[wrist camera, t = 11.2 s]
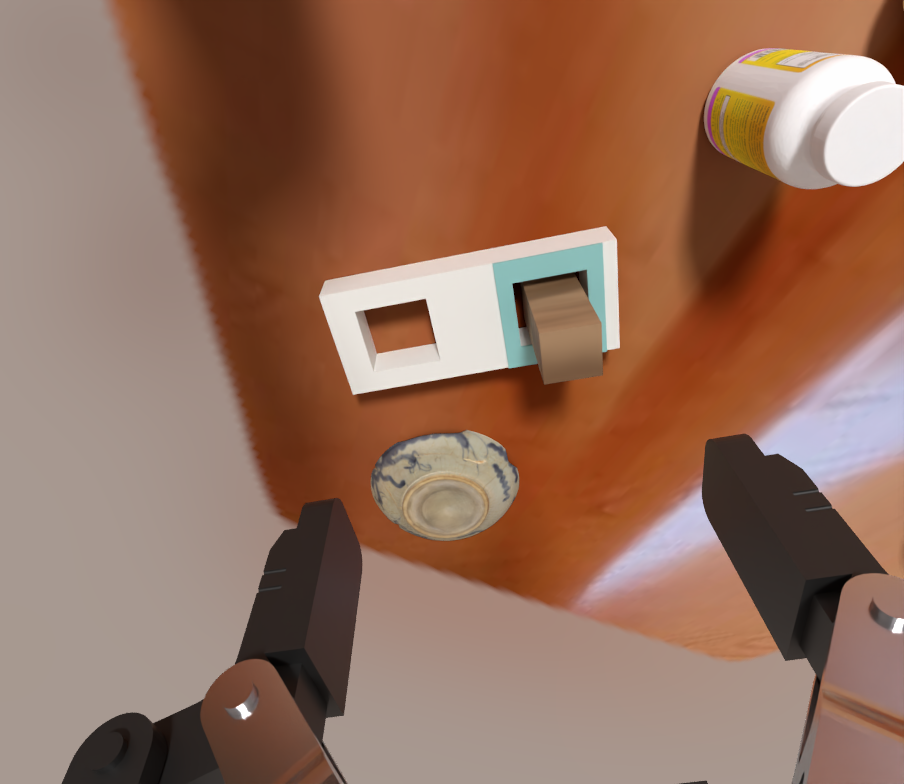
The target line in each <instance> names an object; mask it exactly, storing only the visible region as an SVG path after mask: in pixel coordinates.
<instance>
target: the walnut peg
mask: <svg viewBox="0 0 904 784" xmlns="http://www.w3.org/2000/svg"><path fill="white" fill-rule="evenodd" d="M520 284H521V293H522V301H523V310H524V319H525V322H526V326H527V329H528V332H529V336H530V339H531V342H532V346H533V349H534V352H535V356H536V359H537V362H538V366H539V369H540V372H541V376H542V379H543V382H544V385H545V384H551V383H557V382H564V381H570V380H576V379H582V378H589V377H595V376H601V375H603V357H602V323H601V321H600V319H599V317H598V316H597V314H596V312H595V310H594V308H593V306H592V305H591V303H590V301H589V299H588V297H587V295H586V294H585V292H584V290H583V288H582V286H581V284H580V283H579V281H578V279H577V277H576V275H575V273H574V272H571V273H566V274H560V275H555V276H550V277H544V278H539V279H534V280H528V281H523V282H520Z"/></svg>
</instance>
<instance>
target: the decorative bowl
mask: <svg viewBox="0 0 904 784" xmlns="http://www.w3.org/2000/svg"><path fill="white" fill-rule="evenodd" d="M375 466H376V467H375V468H374V469H373V471H372V475H371V490H372V494H373V497H374V500H375V502H376V503H377V505H378V506H379V508H380V509H381V511H382V512H383V513H384V514H385V515H386V516H387V517H388V519H389V520H391V521H392V522H393V523H396V524H399V527H400V528H401V529H403V530H405V531H407V532H409V533H411V534H414V535H416V536H419V537H423V538H426V539H431V540H439V541H451V540H458V539H463V538H467V537H470V536H473V535H475V534H478V533H480V532H482V531H484V530H486V529H487V528H489V527H490V526H492V525H493V524H494V523H496V522H497V521H498V520H499V519H500V518H501V517H502V516H503V515H504V514H505V512H506V511H507V510H508V509H509V507H510V506H511V504H512V503H513V501H514V499H515V497H516V495H517V492H518V487H519V473H518V470H517V467H515V466H513V465H512V464H511V463H510V462H509V461H508V458H507V453H506V449H505V448H504V447H503V446H502V445H500V444H499V443H498V442H496V441H495V440H493V439H491V438H489V437H487V436H485V435H482V434H479V433H476V432H473V431H469V430H465V431H463V432H461V433H443V434H441V433H439V434H430V435H423V436H419V437H416V438H412V439H409V440H406V441H402V442H398V443H396V444H394V445H393V446H392V447H390V448H389V449H388V450H387V451H386V452H385V453H384V454H383V455H382V456H381V457H380V458H379V460H378V461H377V463H376V464H375Z"/></svg>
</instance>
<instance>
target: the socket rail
mask: <svg viewBox="0 0 904 784" xmlns="http://www.w3.org/2000/svg"><path fill="white" fill-rule="evenodd" d="M576 271H579V280H580V284H581V286H582V288H583V290H584V292H585V294H586V295H587V297H588V299H589V301H590V303H591V305H592V306H593V308H594V310H595V312H596V314H597V316H598V317H599V319H600V321H601V323H602V352H607V350H610V349H616V348H620V341H619V305H618V268H617V239H616V238H615V237H614V236H613V234H612V233H611V232H610V231H609V229H608V228H607V227H606V226H605V227H600V228H595V229H590V230H584V231H579V232H574V233H569V234H564V235H559V236H553V237H548V238H543V239H538V240H533V241H527V242H522V243H517V244H512V245H507V246H502V247H496V248H491V249H486V250H481V251H476V252H471V253H465V254H460V255H455V256H450V257H445V258H440V259H434V260H429V261H424V262H419V263H414V264H409V265H403V266H398V267H393V268H388V269H383V270H378V271H372V272H367V273H362V274H357V275H352V276H347V277H341V278H336V279H331V280H326V281H325V282H324V285H323V287H322V290H321V292H320V295H319V298H320V301H321V304H322V307H323V310H324V313H325V315H326V318H327V321H328V324H329V327H330V330H331V333H332V336H333V338H334V341H335V344H336V347H337V350H338V353H339V356H340V358H341V361H342V364H343V367H344V370H345V373H346V376H347V379H348V381H349V384H350V387H351V390H352V393H353V395H354V394H360V393H366V392H371V391H377V390H383V389H389V388H394V387H400V386H406V385H411V384H417V383H423V382H428V381H434V380H440V379H445V378H451V377H457V376H462V375H468V374H474V373H480V372H485V371H491V370H497V369H502V368H508V367H509V369H510V368H516V367H521V366H527V365H533V364H538V362H537V359H536V356H535V352H534V349H533V346H532V342H531V339H530V336H529V332H528V329H527V327H523V328H518V321H517V314H516V307H515V300H514V292H513V285H512V283H518V282H523V281H528V280H534V279H539V278H544V277H550V276H555V275H560V274H566V273H571V272H576ZM421 299H426V301H427V305H428V309H429V314H430V318H431V322H432V327H433V331H434V335H435V339H436V343H435V344H429V345H424V346H418V347H413V348H407V349H401V350H396V351H390V352H385V353H379V354H377V352H376V349H375V346H374V343H373V339H372V336H371V333H370V330H369V326H368V323H367V320H366V316H365V313H364V310H368V309H373V308H379V307H384V306H389V305H395V304H400V303H405V302H411V301H416V300H421Z"/></svg>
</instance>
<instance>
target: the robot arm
mask: <svg viewBox="0 0 904 784" xmlns="http://www.w3.org/2000/svg"><path fill="white" fill-rule="evenodd" d="M702 499H703V504H704V508H705V512H706V514H707V517H708V519H709V521H710V523H711V525H712V527H713V529H714V530H715V532H716V534H717V536H718V538H719V540H720V541H721V543H722V545H723V547H724V549H725V551H726V552H727V554H728V556H729V558H730V560H731V562H732V563H733V565H734V567H735V569H736V571H737V573H738V574H739V576H740V578H741V580H742V582H743V584H744V585H745V587H746V589H747V591H748V593H749V595H750V597H751V598H752V600H753V602H754V604H755V606H756V608H757V609H758V611H759V613H760V615H761V617H762V619H763V620H764V622H765V624H766V626H767V628H768V630H769V631H770V633H771V635H772V637H773V639H774V641H775V642H776V644H777V646H778V648H779V650H780V652H781V653H782V655H783V657H784V659H785V661H787V660H795V659H803V658H807V659H808V661H809V663H810V665H811V666H812V668H813V670H814V671H815V673H816V675H815V678H814V682H813V687H812V691H811V696H810V701H809V706H808V710H807V715H806V720H805V725H804V729H803V734H802V739H801V743H800V749H799V753H798V758H797V763H796V767H795V772H794V776H793V780H792V784H904V579H901V578H898V577H895V576H891V575H889V574H888V573H887V572H886V571H885V570H884V569H883V568H882V567H881V565H880V564H879V563H878V562H877V560H876V559H875V558H874V557H873V556H872V554H871V553H870V552H869V551H868V549H867V548H866V547H865V546H864V544H863V543H862V542H861V541H860V539H859V538H858V537H857V536H856V535H855V533H854V532H853V531H852V530H851V528H850V527H849V526H848V525H847V523H846V522H845V521H844V520H843V518H842V517H841V516H840V515H839V514H838V512H837V511H836V510H835V509H832V507H831V504H830V502H829V501H828V500H827V499H826V497H825V496H824V495H823V494H822V493H819V491H818V488H817V486H816V485H815V484H814V483H813V481H812V480H811V479H810V478H809V477H808V475H807V474H806V473H805V472H804V470H803V469H802V468H800V467H798V466H797V465H795V464H794V463H792V462H791V461H789V460H787V459H786V458H784V457H783V456H781V455H779V454H774V455H767V456H764V454H763V453H762V452H761V450H760V449H759V448H758V446H757V445H756V444H755V442H754V441H753V440H752V438H751V437H750V436H749V435H747V434H739V435H733V436H727V437H721V438H715V439H709V440H708V441H707V442H706V446H705V457H704V470H703V482H702ZM361 575H362V554H361V549H360V545H359V542H358V539H357V537H356V534H355V532H354V530H353V527H352V525H351V522H350V520H349V518H348V515H347V513H346V510H345V508H344V506H343V503H342V502H341V500H340V499H339V498H334V499H328V500H322V501H316V502H310V503H305V504H304V506H303V508H302V511H301V515H300V518H299V522H298V526H297V528H296V529H289V530H284V532H283V533H282V534H281V536H280V537H279V538H278V540H277V541H276V543H275V544H274V545H273V547H272V548H271V550H270V552H269V555H268V558H267V562H266V565H265V568H264V575H263V576H262V578H261V581H260V585H259V588H258V589H259V593H257V594H256V598H255V602H254V604H253V608H252V611H251V615H250V618H249V621H248V624H247V628H246V631H245V634H244V637H243V641H242V644H241V647H240V651H239V654H238V658H237V660H236V662H235V665H233V666H232V667H230V668H228V669H227V670H226V671H225V672H224V673H222V674H221V675H220V676H219V677H218V678H217V679H216V680H215V681H214V683H213V684H212V685H211V686H210V688H209V690H208V691H207V693H206V695H205V698H204V699H203V700H201V701H200V702H198V703H196V704H194V705H192V706H190V707H188V708H186V709H183V710H181V711H179V712H177V713H175V714H173V715H170V716H168V717H166V718H164V719H162V720H160V721H158V722H155V723H152V722H151V721H150V720H149V719H148V718H147V717H146V716H144V715H142V714H139V713H126V714H122V715H119V716H116V717H114V718H112V719H110V720H109V721H107V722H105V723H104V724H102V725H101V726H100V727H98V728H97V729H96V730H95V731H94V732H93V733H92V734H91V735H90V736H89V737H88V738H87V739H86V740H85V741H84V743H83V744H82V745H81V746H80V748H79V749H78V751H77V752H76V754H75V755H74V757H73V760H72V761H71V763H70V766H69V768H68V770H67V773H66V775H65V777H64V780H63V782H62V784H348V783H347V781H346V779H345V777H344V776H343V774H342V772H341V771H340V769H339V767H338V766H337V764H336V762H335V760H334V759H333V757H332V755H331V754H330V752H329V750H328V748H327V747H326V745H325V743H324V742H323V740H322V739H323V733H324V726H325V719H326V718H328V717H335V716H343V715H344V710H345V701H346V693H347V686H348V678H349V670H350V662H351V654H352V646H353V638H354V631H355V623H356V614H357V606H358V598H359V591H360V583H361ZM681 784H708V783H707V781H699V782H690V783H681Z"/></svg>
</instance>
